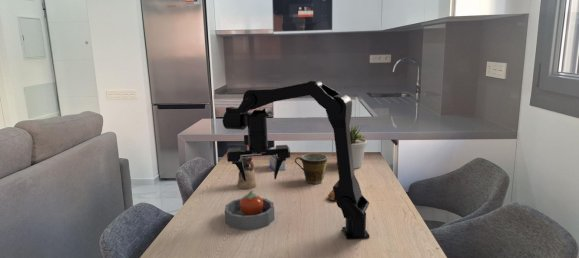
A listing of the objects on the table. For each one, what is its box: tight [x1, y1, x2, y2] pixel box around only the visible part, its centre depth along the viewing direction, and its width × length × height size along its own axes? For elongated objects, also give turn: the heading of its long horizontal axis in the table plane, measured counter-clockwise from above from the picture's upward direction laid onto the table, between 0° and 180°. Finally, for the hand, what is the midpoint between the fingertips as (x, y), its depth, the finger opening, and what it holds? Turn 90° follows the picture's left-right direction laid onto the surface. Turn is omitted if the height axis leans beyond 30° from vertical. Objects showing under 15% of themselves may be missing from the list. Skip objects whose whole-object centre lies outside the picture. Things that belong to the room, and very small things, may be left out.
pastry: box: [327, 189, 335, 201], centre depth 139 cm, size 9×7×4 cm
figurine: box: [237, 156, 258, 190], centre depth 150 cm, size 7×7×12 cm
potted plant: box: [349, 123, 368, 170], centre depth 171 cm, size 13×14×20 cm
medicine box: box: [268, 146, 286, 172], centre depth 171 cm, size 8×4×9 cm, turn 25°
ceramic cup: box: [294, 153, 328, 185], centre depth 155 cm, size 13×10×10 cm
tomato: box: [240, 190, 263, 216], centre depth 123 cm, size 7×7×8 cm
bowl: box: [224, 197, 275, 231], centre depth 123 cm, size 15×15×4 cm
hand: (260, 180), depth 121 cm, fingers open, 9 cm apart
